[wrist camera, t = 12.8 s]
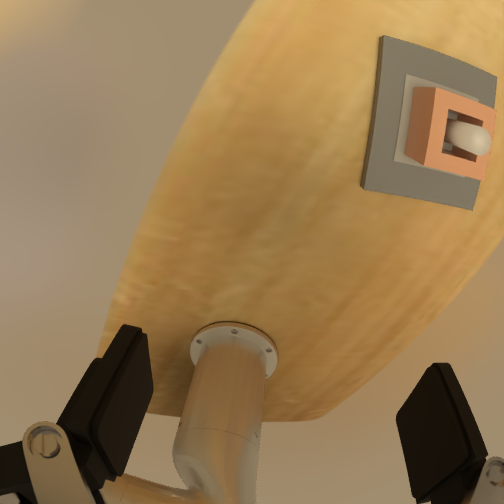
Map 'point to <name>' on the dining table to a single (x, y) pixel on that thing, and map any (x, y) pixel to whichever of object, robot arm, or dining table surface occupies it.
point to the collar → (433, 131)
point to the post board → (398, 115)
